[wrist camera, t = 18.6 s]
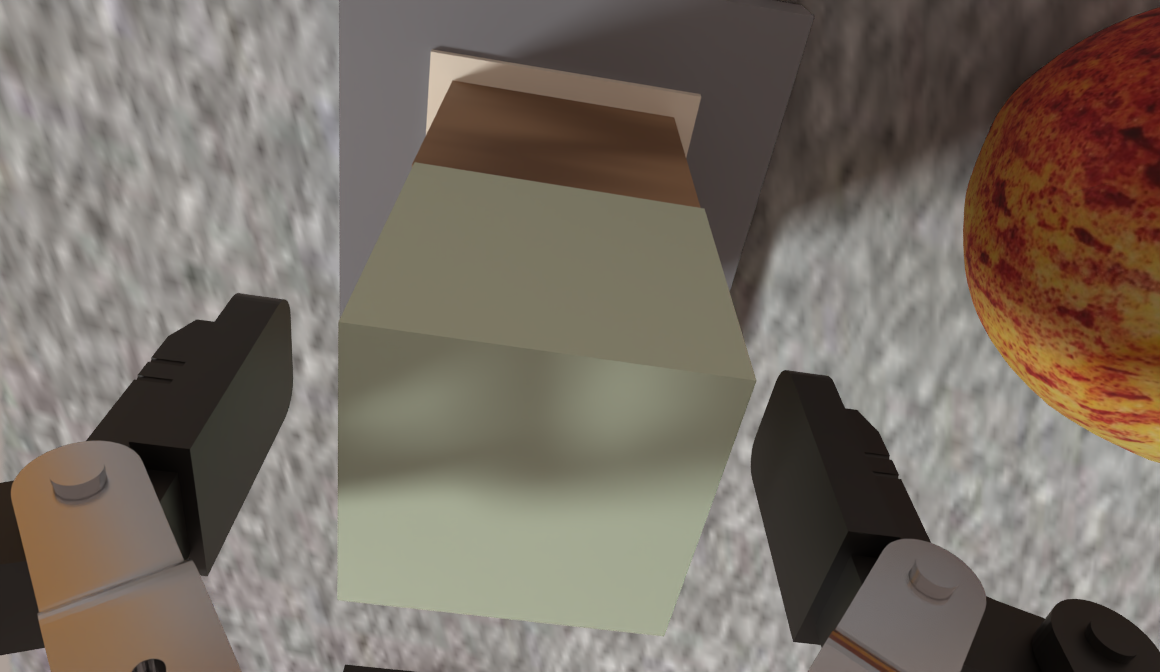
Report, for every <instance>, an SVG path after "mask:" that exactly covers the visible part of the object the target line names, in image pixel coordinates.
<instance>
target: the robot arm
mask: <svg viewBox="0 0 1160 672" xmlns="http://www.w3.org/2000/svg"><path fill="white" fill-rule="evenodd" d="M292 388H293V365H292V341H291V317H290V307H289V304H288V302H287V301H286V300H284V299H276V298H269V297H262V296H255V295H247V294H240V293H237V294H235V295H234V296H233V297H232V298H231V300H230V301H229V302H228V304H227V305H226V307H225V308H224V309H223V311H222V312H221V314H220V315H219V316H218V318H217V319H216V321H215V322H211V321H204V320H195V321H193V322H192V323H190V324H188V325H187V326H185V327H183V328H182V329H180V330H178V331H176V332H175V333H173V334H171V335H170V336H168V337H167V338H166V340H165V341H164V342H163V344H162V345H161V346H160V347H159V349H158V350H157V351H156V352H155V354H154V355H153V356H152V358H151V362H148V363H147V364H146V365H145V366H144V368H143V369H142V370H141V372H140V373H139V374H138V378H137V380H133V382H132V383H131V384H130V386H129V387H128V388H127V389H126V391H125V392H124V393H123V394H122V396H121V397H120V398H119V400H118V401H117V402H116V403H115V405H114V406H113V407H112V408H111V410H110V411H109V412H108V414H107V415H106V416H105V417H104V419H103V420H102V421H101V422H100V424H99V425H98V426H97V427H96V429H95V430H94V431H93V433H92V434H91V435H90V436H89V438H88V439H87V440H86V441H84V442H77V443H73V444H68V445H65V446H61V447H58V448H56V449H53V450H51V451H48V452H46V453H44V454H42V455H41V456H39V457H37V458H36V459H34V460H33V461H31V462H30V463H28V464H27V465H26V466H25V467H24V468H23V469H22V470H21V471H20V472H19V474H18V475H17V476H16V478H15V480H14V481H10V482H3V483H0V655H5V654H11V653H17V652H22V651H28V650H34V649H40V648H45V650H46V654H47V658H48V662H49V666H50V670H51V672H242V671H241V669H240V667H239V664H238V662H237V660H236V657H235V655H234V653H233V650H232V648H231V646H230V643H229V641H228V639H227V636H226V634H225V632H224V629H223V627H222V625H221V623H220V620H219V618H218V616H217V613H216V611H215V609H214V606H213V604H212V602H211V599H210V597H209V595H208V592H207V590H206V588H205V585H204V583H203V581H202V578H201V576H208V574H209V572H210V570H211V568H212V566H213V564H214V562H215V560H216V558H217V556H218V554H219V552H220V550H221V548H222V546H223V544H224V542H225V540H226V538H227V535H228V533H229V531H230V529H231V527H232V525H233V523H234V521H235V519H236V517H237V515H238V513H239V511H240V509H241V507H242V505H243V503H244V501H245V499H246V497H247V495H248V493H249V491H250V489H251V486H252V484H253V482H254V480H255V478H256V476H257V474H258V472H259V470H260V468H261V466H262V464H263V462H264V460H265V458H266V456H267V454H268V452H269V450H270V448H271V446H272V444H273V442H274V440H275V437H276V435H277V433H278V431H279V429H280V427H281V425H282V423H283V421H284V419H285V417H286V414H287V412H288V408H289V405H290V401H291V396H292ZM889 456H890V455H889V453H888V451H887V449H886V446H885V444H884V442H883V440H882V438H881V436H880V434H879V432H878V431H877V430H876V429H875V428H874V427H873V426H872V425H871V424H870V423H869V422H868V421H867V420H866V419H865V418H864V417H863V416H862V415H861V414H860V413H859V411H858V410H853V409H846V408H845V407H844V405H843V403H842V400H841V398H840V396H839V393H838V391H837V389H836V387H835V384H834V382H833V380H832V379H831V378H830V377H829V376H824V375H817V374H810V373H803V372H795V371H788V370H784V371H783V372H781V374H780V375H779V377H778V378H777V381H776V383H775V386H774V389H773V391H772V394H771V397H770V399H769V402H768V405H767V407H766V410H765V413H764V416H763V418H762V421H761V424H760V426H759V429H758V432H757V434H756V437H755V440H754V444H753V448H752V455H751V475H752V480H753V484H754V488H755V492H756V496H757V500H758V504H759V508H760V512H761V515H762V519H763V523H764V527H765V531H766V535H767V539H768V543H769V547H770V551H771V555H772V559H773V563H774V567H775V571H776V575H777V579H778V583H779V587H780V591H781V595H782V599H783V603H784V607H785V611H786V615H787V619H788V623H789V627H790V631H791V635H792V639H793V642H799V643H808V644H818V645H821V647H822V649H821V650H820V652H819V654H818V655H817V657H816V659H815V660H814V662H813V664H812V665H811V667H810V669H809V670H808V672H1160V651H1159V650H1158V649H1157V647H1156V646H1155V644H1154V643H1153V642H1152V641H1151V640H1150V639H1149V638H1148V636H1147V635H1146V634H1144V633H1143V632H1142V631H1141V630H1140V629H1139V628H1138V627H1137V626H1135V625H1134V624H1133V623H1132V622H1130V621H1129V620H1128V619H1126V618H1125V617H1123V616H1122V615H1120V614H1118V613H1116V612H1115V611H1113V610H1111V609H1109V608H1107V607H1105V606H1102V605H1100V604H1097V603H1094V602H1091V601H1086V600H1081V599H1067V600H1064V601H1061V602H1059V603H1058V604H1056V605H1055V607H1054V608H1053V609H1052V611H1051V612H1050V613H1049V615H1048V616H1047V617H1046V619H1044V618H1042V617H1039V616H1036V615H1034V614H1031V613H1028V612H1026V611H1023V610H1020V609H1018V608H1015V607H1012V606H1009V605H1007V604H1004V603H1001V602H999V601H996V600H994V599H991V598H989V597H987V596H986V594H985V591H984V588H983V586H982V584H981V582H980V580H979V579H978V577H977V576H976V575H975V573H974V572H973V571H972V570H971V569H970V568H969V567H968V566H967V565H966V564H965V563H964V562H963V561H962V560H960V559H959V558H958V557H957V556H955V555H954V554H952V553H951V552H949V551H947V550H945V549H943V548H942V547H940V546H937V545H935V544H932V543H931V542H930V539H929V537H928V535H927V533H926V531H925V529H924V527H923V525H922V523H921V520H920V518H919V516H918V514H917V512H916V510H915V508H914V506H913V504H912V501H911V499H910V497H909V495H908V493H907V491H906V489H905V487H904V484H903V482H902V480H901V479H898V475H899V474H898V472H897V470H896V468H895V465H894V463H893V461H892V460H889ZM200 575H201V576H200ZM343 672H413V671H403V670H393V669H383V668H373V667H363V666H353V665H345V667H344V671H343Z"/></svg>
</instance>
